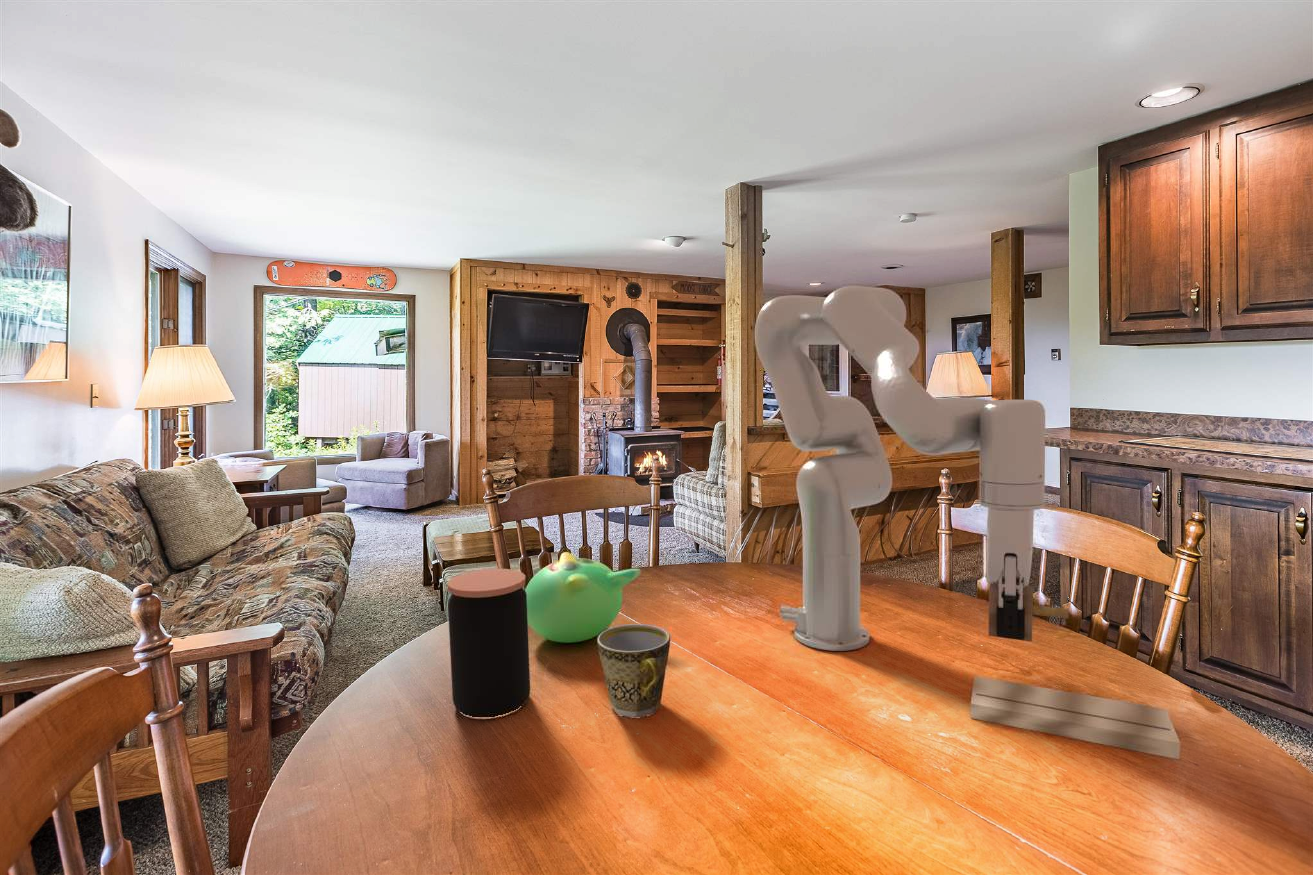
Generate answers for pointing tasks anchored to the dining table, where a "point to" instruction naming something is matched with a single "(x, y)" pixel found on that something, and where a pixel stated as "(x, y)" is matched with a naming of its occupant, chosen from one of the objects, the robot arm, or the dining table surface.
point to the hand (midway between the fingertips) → (1010, 630)
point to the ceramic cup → (634, 667)
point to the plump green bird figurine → (575, 598)
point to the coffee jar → (488, 642)
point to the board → (1075, 716)
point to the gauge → (1029, 611)
